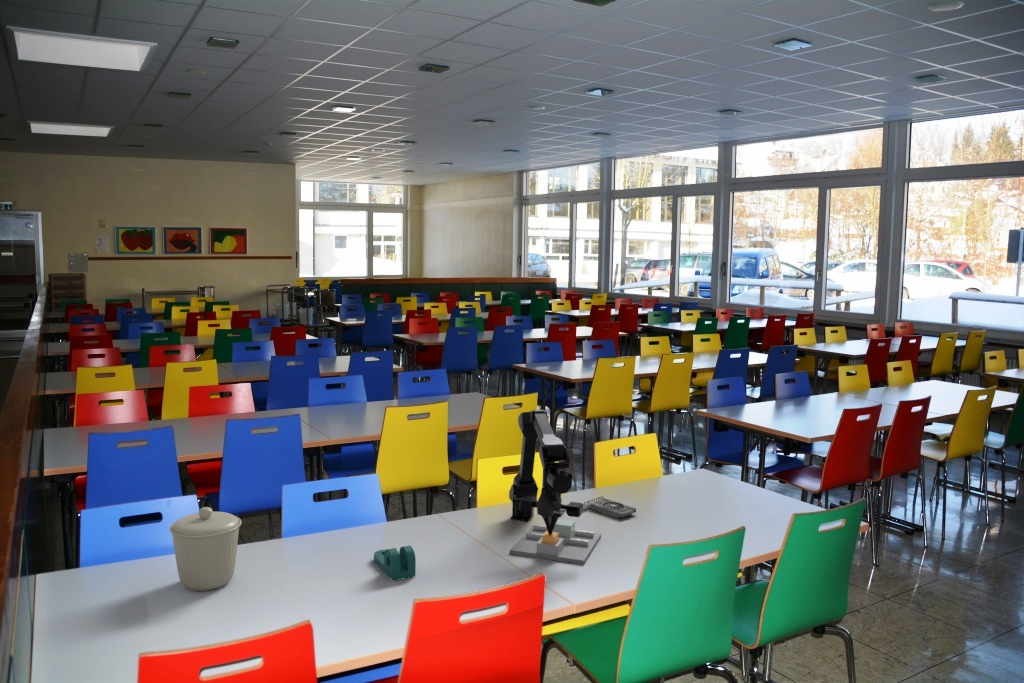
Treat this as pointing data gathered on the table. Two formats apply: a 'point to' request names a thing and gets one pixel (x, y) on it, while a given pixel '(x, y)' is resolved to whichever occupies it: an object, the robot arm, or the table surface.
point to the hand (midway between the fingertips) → (550, 534)
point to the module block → (565, 528)
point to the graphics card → (609, 507)
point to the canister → (205, 548)
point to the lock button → (550, 538)
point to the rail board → (556, 546)
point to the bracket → (397, 562)
